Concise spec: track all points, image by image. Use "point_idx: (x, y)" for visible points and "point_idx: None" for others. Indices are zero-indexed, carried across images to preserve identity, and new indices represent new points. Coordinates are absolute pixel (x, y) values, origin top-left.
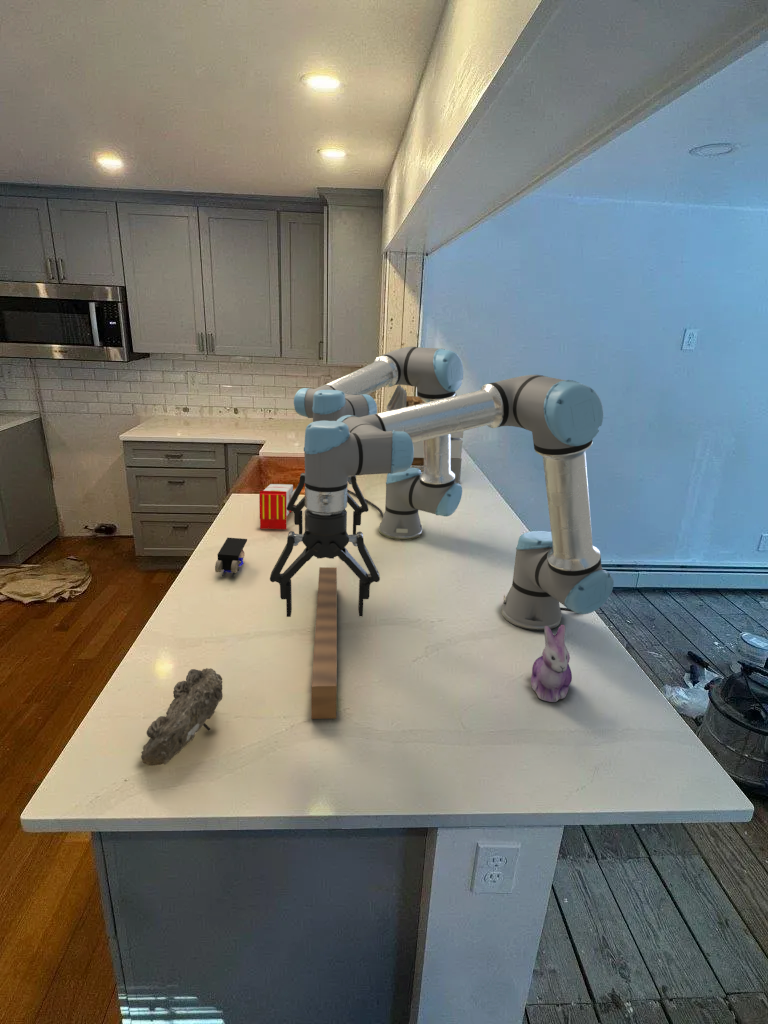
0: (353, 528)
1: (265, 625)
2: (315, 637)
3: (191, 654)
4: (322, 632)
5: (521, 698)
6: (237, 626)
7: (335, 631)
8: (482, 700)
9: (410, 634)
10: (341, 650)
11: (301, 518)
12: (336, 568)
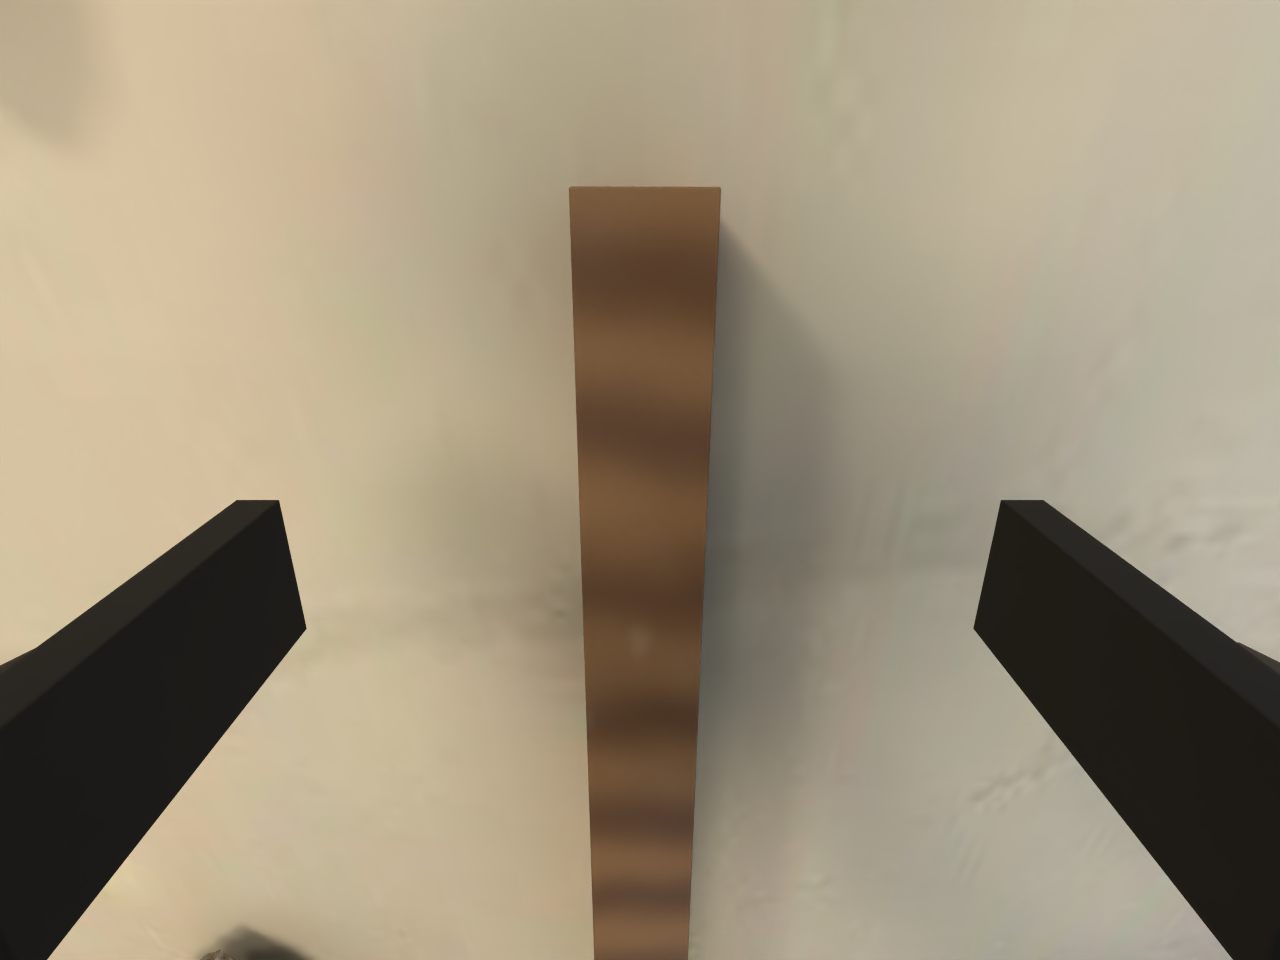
0: (1058, 732)
1: (345, 566)
2: (597, 947)
3: None
4: (626, 919)
5: None
6: None
7: (684, 914)
8: (1123, 955)
9: None
10: (704, 738)
11: (100, 879)
12: (717, 211)
